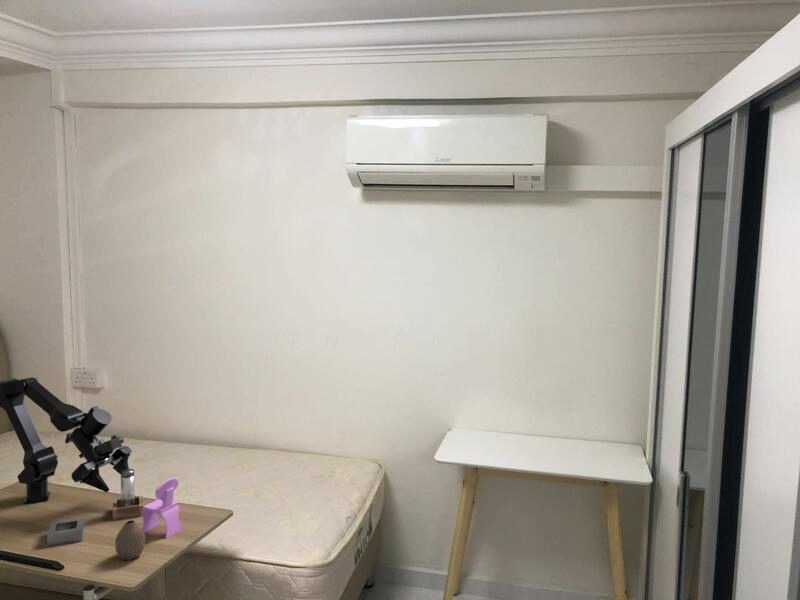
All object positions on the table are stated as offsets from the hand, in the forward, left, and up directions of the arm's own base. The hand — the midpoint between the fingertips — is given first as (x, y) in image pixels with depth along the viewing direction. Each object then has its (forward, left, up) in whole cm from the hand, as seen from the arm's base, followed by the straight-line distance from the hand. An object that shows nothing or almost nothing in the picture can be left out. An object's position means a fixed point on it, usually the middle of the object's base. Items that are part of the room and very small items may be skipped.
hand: (119, 485), depth 176 cm
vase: (+30, +3, -8) cm, 32 cm away
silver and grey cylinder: (+2, +2, -8) cm, 8 cm away
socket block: (+13, -13, -8) cm, 20 cm away
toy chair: (+18, +11, -8) cm, 23 cm away
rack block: (+2, +2, -8) cm, 8 cm away
